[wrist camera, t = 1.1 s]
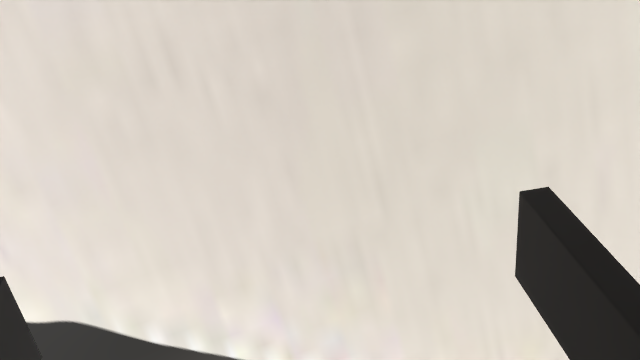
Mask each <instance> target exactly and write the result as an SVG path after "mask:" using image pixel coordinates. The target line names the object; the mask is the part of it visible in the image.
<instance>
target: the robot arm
mask: <svg viewBox="0 0 640 360" xmlns="http://www.w3.org/2000/svg"><path fill="white" fill-rule="evenodd" d="M515 277H516V278H517V280H518V281H519V283H520V284H521V286H522V287H523V289H524V290H525V292H526V293H527V295H528V296H529V298H530V299H531V301H532V303H533V304H534V306H535V307H536V309H537V310H538V312H539V313H540V315H541V316H542V318H543V319H544V321H545V322H546V324H547V325H548V327H549V329H550V330H551V332H552V333H553V335H554V336H555V338H556V339H557V341H558V342H559V344H560V345H561V347H562V348H563V350H564V351H565V353H566V354H567V356H568V358H569V359H570V360H640V285H639V284H638V282H637V281H636V280H635V279H634V278H633V277H632V276H631V275H630V274H629V273H628V272H627V271H626V270H625V268H624V267H623V266H622V265H621V264H620V263H619V262H618V261H617V260H616V259H615V258H614V257H613V256H612V255H611V253H610V252H609V251H608V250H607V249H606V248H605V247H604V246H603V245H602V244H601V243H600V242H599V241H598V239H597V238H596V237H595V236H594V235H593V234H592V233H591V232H590V231H589V230H588V229H587V228H586V227H585V226H584V224H583V223H582V222H581V221H580V220H579V219H578V218H577V217H576V216H575V215H574V214H573V213H572V212H571V210H570V209H569V208H568V207H567V206H566V205H565V204H564V203H563V202H562V201H561V200H560V199H559V198H558V197H557V195H556V194H555V193H554V192H553V191H552V190H551V189H550V188H549V187H545V188H539V189H532V190H526V191H520V195H519V214H518V233H517V251H516V270H515ZM41 359H42V355H41V353H40V351H39V349H38V347H37V345H36V343H35V341H34V339H33V336H32V334H31V332H30V330H29V328H28V326H27V324H26V322H25V320H24V317H23V315H22V313H21V311H20V309H19V307H18V305H17V303H16V301H15V298H14V296H13V294H12V292H11V290H10V288H9V286H8V284H7V282H6V279H5V277H4V276H3V277H0V360H41Z"/></svg>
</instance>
